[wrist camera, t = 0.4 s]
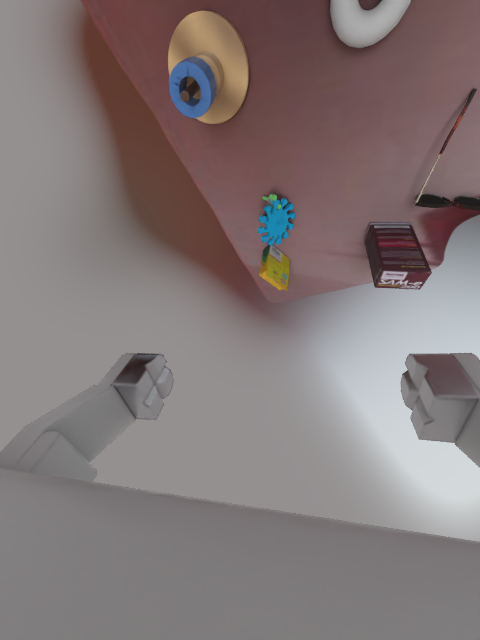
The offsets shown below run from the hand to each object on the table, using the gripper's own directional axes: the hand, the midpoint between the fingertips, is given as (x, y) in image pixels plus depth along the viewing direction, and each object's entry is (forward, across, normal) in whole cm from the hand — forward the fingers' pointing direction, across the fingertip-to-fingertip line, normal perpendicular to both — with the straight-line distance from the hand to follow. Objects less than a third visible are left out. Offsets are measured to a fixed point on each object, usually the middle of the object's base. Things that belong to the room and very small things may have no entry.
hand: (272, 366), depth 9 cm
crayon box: (+60, +6, +18) cm, 63 cm away
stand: (+49, +13, -17) cm, 53 cm away
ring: (+41, +13, -15) cm, 46 cm away
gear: (+56, +4, +7) cm, 57 cm away
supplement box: (+58, -19, +15) cm, 63 cm away
